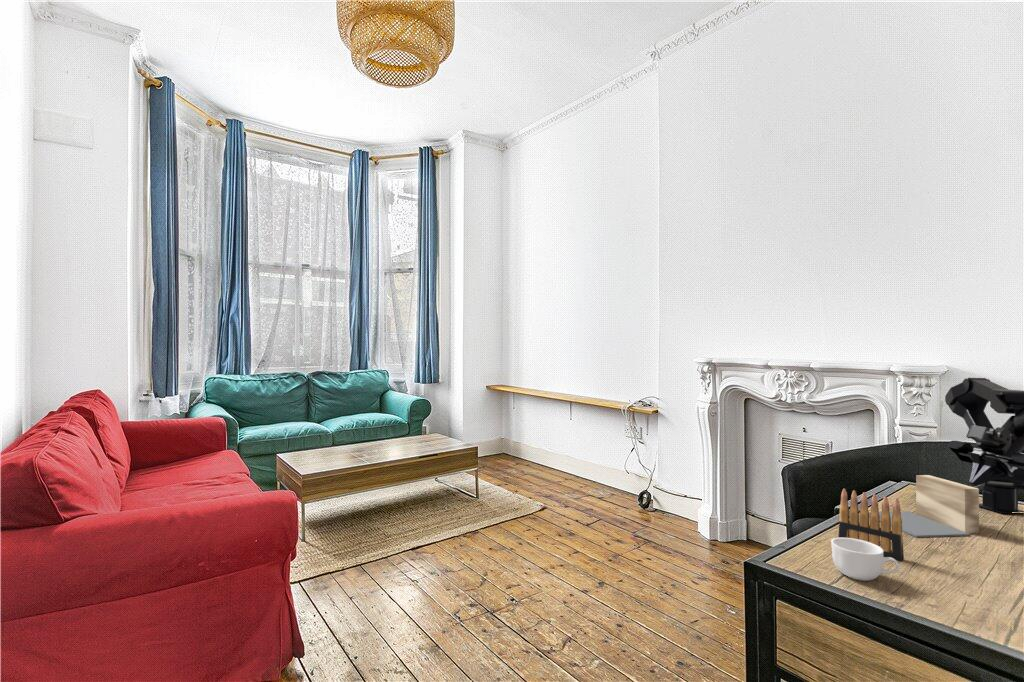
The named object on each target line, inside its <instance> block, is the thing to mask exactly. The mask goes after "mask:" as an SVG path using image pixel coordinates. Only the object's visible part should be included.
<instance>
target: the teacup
mask: <svg viewBox="0 0 1024 682" xmlns="http://www.w3.org/2000/svg"><path fill="white" fill-rule="evenodd" d="M830 544H831V545H830V546H831V555H832V561H833V563H834V565H835V567H836V568H837V570H838V571H839V572H840V573H842V575H844V576H845V575H846V576H845V577H847V576H848V578H850V579H853V580H856V581H864V582H867V581H872V580H875V579H877V578H878V577H879V576H880V575H884V574H886V575H887V574H893V573H897V572H898V571H899V570H900V564H899V561H896V560H895V559H893V558H891V557H883V552H884V551H883V549H882V548H881V547H879V546H877V545H875V544H873V543H870V541H869V542H867V541H863V540H859V539H853V538H842V537H841V538H838V537H835V538H831V540H830ZM888 561H892V562H893V563H894V564H895V568H894V569H890V570H888V569H884V568H883V567H884V564H885V563H887V562H888Z"/></svg>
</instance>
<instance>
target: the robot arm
mask: <svg viewBox="0 0 1024 682" xmlns="http://www.w3.org/2000/svg"><path fill="white" fill-rule="evenodd" d="M944 397H945V398H944V402H945V404H946V405H947V406H948V408H949V409H950V411H951V412H952V413H953V414H955V415H956V416H958V417H960V418H962V419H963V420H964V422H965V424H966V427H967V428H968V431H967V433H966V436H965V437H966V438H968V439H972V440H973V441H974V442H975V443H976V446H977V447H978V448H976V447H974V446H972V444H971V443H970V442H966V441H960V440H951V441H950V442H949V443H948V444H947V445H946V448H947V449H948V450H949V451H950V452H951V454H952V455H953V456H954V457H955V458H956V459H957V460H958V461H959V462H961V463H964V464H968V465H972V466H971V472H970V477H969V482H968V483H969V484H970V485H971V486H972V487H977V486H979V485H980V486H983V488H982V489H983V490H982V501H981V502H982V503H979V508H982V509H986V510H989V511H992V512H995V511H996V513H998V512H1000V513H999V514H1002V513H1012V512H1024V510H1021V509H1019V490H1023V491H1024V390H1019V389H1018V390H1017V389H1009V388H1006V387H1004V386H1002V385H1000V384H997V383H995V382H994V381H991V380H990V379H989V378H986V377H967V378H964V380H962V382H960V383H958V384H955V385H954V386H951V387H950V388H949V389H948V391H947V392H946V394H945V396H944ZM989 402H990V405H989V406H990V408H991V409H993V411H994V412H996V414H1006V415H1011V416H1010V417H1008V418H1007V420H1006V421H1005V422H1004V423H1003V425H1002V426H1001V427H999V426H998V427H996V428H995V427H994V426H993V425H992V422H991V421H990V419H989V418H988V416H987V414H986V412H985V409H986V407H987V405H988V403H989Z"/></svg>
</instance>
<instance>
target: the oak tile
mask: <svg viewBox="0 0 1024 682" xmlns="http://www.w3.org/2000/svg"><path fill="white" fill-rule="evenodd" d="M915 481H916V482H915V492H916V493H915V495H916V496H915V501H916V503H915V504H916V506H915V511H916V512H915V514H917V515H920V516H923V517H925V518H928V519H931V520H933V521H936V522H939V523H942V524H944V525H947V526H950V527H952V528H955V529H958V530H961V531H963V532H966V533H969V534H979V533H980V507H979V504H980V489H979V488H977V487H975V486H972V485H971V486H970V485H966V484H963V483H959V482H956V481H952V480H948V479H945V478H942V477H941V478H940V477H937V476H934V475H930V474H922V475H921V474H920V475H919V474H917V475H915Z"/></svg>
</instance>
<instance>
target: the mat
mask: <svg viewBox="0 0 1024 682" xmlns="http://www.w3.org/2000/svg"><path fill="white" fill-rule="evenodd" d="M881 513H882V511H879V516H880V523H881ZM892 516H893V511H890V518H891V528H892ZM869 517H870V512H869ZM901 519H902V531H903V532H902V533H905V534H907V535H909V536H912V537H914V538H936V537H937V538H938V537H941V538H942V537H943V538H945V537H971V533H966V532H963V531H961V530H958V529H955V528H952V527H950V526H947V525H944V524H942V523H939V522H936V521H933V520H931V519H928V518H925V517H923V516H920V515H917V514H916V513H914V512H911V511H901Z"/></svg>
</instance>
